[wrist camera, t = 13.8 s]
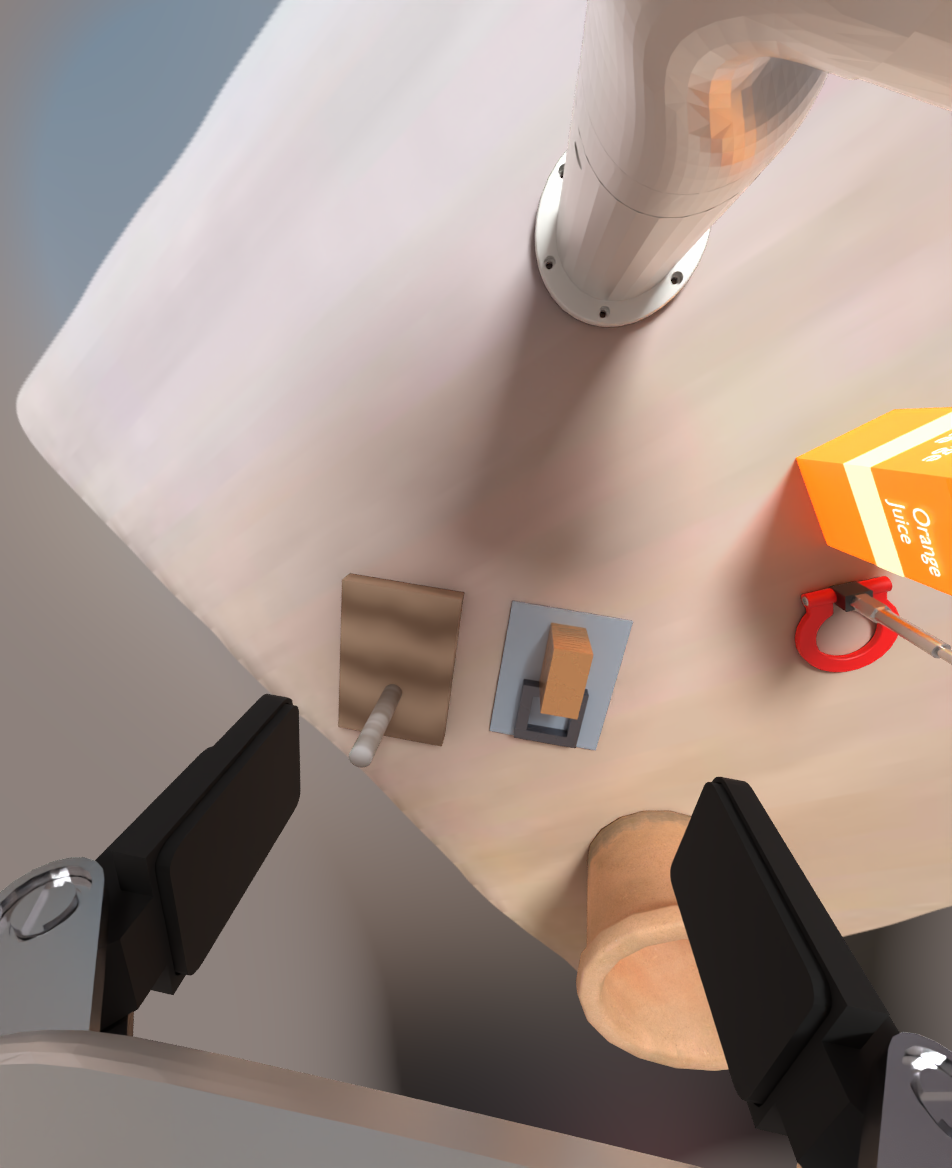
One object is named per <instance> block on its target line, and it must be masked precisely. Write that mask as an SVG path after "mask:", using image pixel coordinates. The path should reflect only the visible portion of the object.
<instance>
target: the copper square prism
mask: <svg viewBox="0 0 952 1168" xmlns="http://www.w3.org/2000/svg"><path fill="white" fill-rule="evenodd" d="M592 659H593V651H592V648H591V644H590V641H589V637H588V634H587V630H586V628H583V627H577V626H570V625H564V624H558V623H551V626H550V630H549V635H548V640H547V645H546V650H545V655H544V660H543V665H542V670H541V674H540V679H539V681H534V680H528V679H524V680H523V685H522V691H521V696H520V701H519V706H518V712H517V717H516V722H515V728H514V737H515V738H520V739H526V740H532V741H537V742H543V743H549V744H554V745H560V746H566V747H571V748H576V745H577V741H578V737H579V733H580V729H581V725H582V721H583V717H584V714H585V710H586V706H587V702H588V698H589V694H588V689H585V687H586V683H587V679H588V675H589V671H590V667H591V663H592ZM533 697H539V698H540V713H542V714H548V715H554V716H560V717H565V718H569V719H568V723H567V728H566V730H562V729H556V728H550V727H545V726H539V725H533V724H528V720H529V715H530V710H531V705H532V700H533Z"/></svg>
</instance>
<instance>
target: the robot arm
mask: <svg viewBox="0 0 952 1168" xmlns="http://www.w3.org/2000/svg"><path fill="white" fill-rule="evenodd" d="M829 73H831V74H834V75H837V76H839V77H842V78H845V79H848V80H856V79H860V80H863V81H866V82H869V83H872V84H875V85H877V86H880V87H883V88H886V89H889V90H892V91H895V92H897V93H900V94H903V95H906V96H909V97H912V98H915V99H917V100H920V101H923V102H926V103H929V104H932V105H935V106H937V107H940V108H943V109H946V110H949V111H952V0H587V7H586V15H585V24H584V32H583V40H582V47H581V54H580V61H579V68H578V75H577V82H576V89H575V96H574V103H573V110H572V117H571V124H570V131H569V138H568V145H567V150H566V151H565V153H564V154H563V155H562V156H561V157H560V159H559V160H558V162H557V163H556V165H555V167H554V169H553V170H552V172H551V174H550V175H549V177H548V179H547V182H546V185H545V187H544V190H543V192H542V195H541V198H540V202H539V206H538V211H537V215H536V224H535V252H536V258H537V264H538V268H539V271H540V274H541V277H542V279H543V282H544V284H545V286H546V288H547V290H548V291H549V293H550V295H551V296H552V298H553V299H554V300H555V301H556V302H557V303H558V305H559V306H560V307H561V308H562V309H563V310H564V311H566V312H567V313H569V314H570V315H571V316H573V317H574V318H576V319H578V320H580V321H583V322H585V323H587V324H591V325H596V326H601V327H616V326H623V325H627V324H631V323H635V322H637V321H639V320H642V319H644V318H646V317H648V316H650V315H652V314H653V313H655V312H656V311H657V310H659V309H660V308H662V307H663V306H665V305H666V304H667V303H668V302H669V301H670V300H671V299H672V298H674V297H675V296H676V295H677V293H678V292H679V291H680V290H681V289H682V288H683V287H684V286H685V284H686V283H687V282H688V280H689V279H690V277H691V275H692V274H693V272H694V271H695V269H696V268H697V266H698V264H699V262H700V260H701V257H702V255H703V253H704V250H705V248H706V245H707V242H708V238H709V234H710V230H711V227H712V225H713V224H714V223H715V222H716V221H717V220H718V219H719V218H720V217H721V216H722V215H723V214H724V213H725V211H726V210H727V209H728V208H729V207H730V206H731V205H732V204H733V203H734V202H735V201H736V200H737V199H738V198H739V196H740V195H741V194H742V193H743V192H744V191H745V190H746V189H747V188H748V187H749V186H750V185H751V184H752V182H753V181H754V180H755V179H756V178H757V177H758V176H759V174H760V173H761V172H762V171H763V170H764V169H765V168H766V167H767V166H768V165H769V163H770V162H771V161H772V160H773V159H774V158H775V157H776V156H777V155H778V154H779V152H780V151H781V150H782V149H783V148H784V146H785V145H786V144H787V143H788V141H789V140H790V139H791V137H792V136H793V135H794V133H795V132H796V131H797V129H798V128H799V126H800V125H801V123H802V122H803V120H804V119H805V117H806V116H807V114H808V112H809V111H810V109H811V107H812V105H813V104H814V102H815V100H816V98H817V96H818V94H819V93H820V91H821V89H822V87H823V85H824V83H825V81H826V79H827V76H828V74H829ZM562 174H563V179H562V178H561V177H560V176H561V175H562ZM548 263H551V264H552V265H553V267H552V268H551V269H547V268H546V265H547V264H548ZM672 278H675V279H676V284H675V285H674V284H672V282H671V279H672ZM602 311H603V312H605V314H606V316H605V317H604V318H601V317H600V312H602ZM299 797H300V752H299V710H298V707H297V706H294V705H293V703H292V700H291V699H290V698H287V697H281V696H276V695H270V694H265V695H263V696H262V697H261V698H260V699H259V700H258V701H257V702H256V703H255V704H254V705H253V706H252V707H251V708H250V709H249V710H248V711H247V712H246V713H245V714H244V715H243V716H242V717H241V718H240V719H239V720H238V721H237V722H236V723H235V724H234V725H233V726H232V727H231V728H230V729H229V730H228V731H227V732H226V734H225V735H224V736H223V737H222V738H221V739H220V740H219V741H218V742H217V743H216V744H215V745H214V746H212V747H209V748H207V749H206V750H205V751H203V752H202V753H201V754H200V755H199V756H198V757H197V758H196V759H195V760H194V761H193V762H192V763H191V764H190V765H189V766H188V767H187V768H186V769H185V770H184V771H183V772H182V773H181V774H180V775H179V776H178V777H177V778H176V779H175V780H174V781H173V782H172V783H171V784H170V785H169V786H168V787H167V788H166V789H165V790H164V791H163V792H162V793H161V794H160V795H159V796H158V797H157V798H156V799H155V800H154V801H153V802H152V804H150V805H149V806H148V807H147V809H146V810H145V811H144V812H143V813H142V814H141V815H140V816H139V817H138V818H137V819H136V820H135V821H134V822H133V823H132V824H131V825H130V826H129V827H128V828H127V829H126V830H125V831H124V832H123V833H122V834H121V835H120V836H119V837H118V838H117V839H116V840H115V841H114V842H113V843H112V844H111V845H110V846H109V847H108V848H107V849H106V850H105V851H104V852H103V853H102V854H101V855H100V856H99V857H98V858H97V859H96V860H95V861H94V860H91V859H88V858H85V857H75V858H66V859H62V860H57V861H53V862H50V863H48V864H45V865H43V866H41V867H38V868H36V869H34V870H32V871H30V872H28V873H27V874H25V875H23V876H22V877H20V878H18V879H17V880H15V881H13V882H12V883H11V884H10V885H9V886H7V887H6V888H5V889H4V890H2V891H1V892H0V1168H702V1167H698V1166H694V1165H690V1164H685V1163H681V1162H677V1161H673V1160H669V1159H665V1158H660V1157H656V1156H652V1155H648V1154H644V1153H640V1152H636V1151H632V1150H627V1149H624V1148H620V1147H615V1146H611V1145H607V1144H603V1143H599V1142H594V1141H590V1140H587V1139H582V1138H578V1137H573V1136H570V1135H566V1134H562V1133H557V1132H553V1131H549V1130H545V1129H541V1128H536V1127H532V1126H528V1125H524V1124H519V1123H515V1122H511V1121H507V1120H503V1119H498V1118H494V1117H489V1116H486V1115H481V1114H477V1113H473V1112H469V1111H464V1110H460V1109H456V1108H451V1107H447V1106H443V1105H438V1104H435V1103H430V1102H426V1101H422V1100H418V1099H413V1098H409V1097H405V1096H401V1095H396V1094H392V1093H388V1092H384V1091H379V1090H375V1089H371V1088H366V1087H362V1086H358V1085H353V1084H349V1083H345V1082H340V1081H335V1080H331V1079H327V1078H323V1077H318V1076H314V1075H310V1074H305V1073H301V1072H296V1071H292V1070H288V1069H283V1068H279V1067H275V1066H270V1065H266V1064H262V1063H257V1062H253V1061H248V1060H244V1059H240V1058H235V1057H231V1056H226V1055H222V1054H216V1053H211V1052H207V1051H202V1050H197V1049H192V1048H187V1047H182V1046H177V1045H173V1044H167V1043H163V1042H158V1041H153V1040H148V1039H143V1038H138V1037H133V1028H134V1027H133V1026H134V1011H135V1010H137V1009H138V1008H139V1007H140V1005H141V1004H142V1002H143V1001H144V999H145V998H146V996H147V995H148V993H149V992H150V990H154V991H158V992H162V993H167V994H171V995H174V993H175V991H176V990H177V988H178V987H179V985H180V983H181V982H182V980H183V979H184V977H185V975H193V974H194V973H195V972H196V970H198V969H199V967H200V966H201V964H202V963H203V961H204V959H205V958H206V956H207V954H208V953H209V951H210V949H211V948H212V946H213V944H214V943H215V941H216V939H217V938H218V936H219V934H220V933H221V931H222V929H223V928H224V926H225V925H226V923H227V921H228V920H229V918H230V916H231V914H232V913H233V911H234V910H235V908H236V906H237V905H238V903H239V901H240V900H241V898H242V896H243V894H244V893H245V891H246V890H247V888H248V886H249V885H250V883H251V881H252V880H253V878H254V876H255V875H256V873H257V871H258V870H259V868H260V867H261V865H262V863H263V862H264V860H265V858H266V857H267V855H268V853H269V852H270V850H271V848H272V847H273V845H274V843H275V842H276V840H277V838H278V836H279V835H280V833H281V832H282V830H283V828H284V827H285V825H286V823H287V822H288V820H289V818H290V817H291V815H292V813H293V812H294V810H295V808H296V806H297V804H298V801H299ZM670 878H671V884H672V887H673V891H674V894H675V897H676V900H677V904H678V907H679V910H680V913H681V917H682V920H683V923H684V926H685V929H686V933H687V936H688V939H689V942H690V946H691V949H692V952H693V955H694V959H695V962H696V965H697V968H698V972H699V975H700V978H701V981H702V984H703V988H704V991H705V994H706V997H707V1001H708V1004H709V1007H710V1010H711V1014H712V1017H713V1020H714V1023H715V1026H716V1030H717V1033H718V1036H719V1039H720V1043H721V1046H722V1049H723V1052H724V1056H725V1059H726V1062H727V1065H728V1069H729V1072H730V1075H731V1078H732V1081H733V1084H734V1087H735V1089H736V1091H737V1093H738V1095H739V1096H740V1098H741V1099H742V1100H745V1101H747V1103H748V1107H749V1110H750V1113H751V1116H752V1119H753V1122H754V1125H755V1128H756V1129H760V1130H765V1131H769V1132H774V1133H778V1134H782V1135H787V1136H788V1138H789V1141H790V1144H791V1146H792V1149H793V1152H794V1155H795V1157H796V1160H797V1162H798V1164H797V1168H952V1052H950V1051H949V1050H948V1049H946V1048H945V1047H943V1046H942V1045H940V1044H938V1043H937V1042H935V1041H933V1040H931V1039H928V1038H926V1037H923V1036H921V1035H919V1034H915V1033H905V1032H902V1033H899V1031H898V1030H897V1028H896V1026H895V1025H894V1023H893V1021H892V1020H891V1018H890V1017H889V1013H888V1011H887V1009H886V1008H885V1006H884V1004H883V1003H882V1001H881V1000H880V998H879V996H878V995H877V993H876V991H875V990H874V988H873V987H872V985H871V983H870V982H869V980H868V978H867V977H866V975H865V973H864V972H863V970H862V968H861V967H860V965H859V963H858V962H857V960H856V959H855V957H854V955H853V954H852V952H851V950H850V949H849V947H848V945H847V944H846V942H845V940H844V939H843V937H842V936H841V934H840V932H839V931H838V929H837V927H836V926H835V924H834V922H833V921H832V919H831V918H830V916H829V914H828V913H827V911H826V909H825V908H824V906H823V904H822V903H821V901H820V899H819V898H818V896H817V895H816V893H815V891H814V890H813V888H812V886H811V885H810V883H809V881H808V880H807V878H806V876H805V875H804V873H803V872H802V870H801V868H800V867H799V865H798V863H797V862H796V860H795V858H794V857H793V855H792V854H791V852H790V850H789V849H788V847H787V845H786V844H785V842H784V840H783V839H782V837H781V835H780V834H779V832H778V831H777V829H776V827H775V826H774V824H773V822H772V821H771V819H770V817H769V816H768V814H767V813H766V811H765V809H764V808H763V806H762V804H761V803H760V801H759V799H758V798H757V796H756V794H755V793H754V791H753V790H752V788H751V787H750V785H749V784H748V783H746V782H745V781H740V780H734V779H729V778H723V777H716V778H715V779H714V780H713V781H712V782H707V783H706V784H705V785H704V787H703V790H702V792H701V795H700V797H699V799H698V802H697V804H696V807H695V809H694V811H693V814H692V816H691V819H690V821H689V823H688V826H687V828H686V831H685V833H684V835H683V838H682V840H681V843H680V845H679V847H678V850H677V852H676V855H675V857H674V859H673V862H672V864H671V869H670Z"/></svg>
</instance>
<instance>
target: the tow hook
mask: <svg viewBox="0 0 952 1168" xmlns="http://www.w3.org/2000/svg"><path fill="white" fill-rule="evenodd" d="M891 589H892V583H891V581H890V579H889V578H888V577H886V576H882V577H877V578H873V579H868V580H864V581H859V582H849V583H845V584H840V585H836V586H831V587H829V588H828V589H823V590H819V591H814V592H810V593H805V594H802V595H801V601H802V603H803V605H804V607H806V614H805V615H804V616H803V617H802V619H801V621H800V623H799V624H798V626H797V629H796V634H795V643H796V648H797V650H798V652H799V654H800V655H801V656H802V657H803V658H804V659H805V660H806V661H807V662H808V663H809V664H810V665H812V666H814V667H816V668H818V669H820V670H824V671H829V672H847V671H851V670H856V669H859V668H862V667H864V666H866V665H869V664H871V663H872V662H874V661H876V660H877V659H879V658H880V657H882V656H883V655H884V654H885V653H886V652H887V651H888V650H889V649H890V648H891V646H892V645H893V643H894V642H895V640H896V638H897V636H898V635H900V636H901V637H903V638H904V639H906V640H907V641H909V642H911V643H912V644H914V645H915V646H917V647H918V648H920V649H922V650H923V651H925V652H926V653H928V654H930V655H931V656H933V657H934V658H942V659H943V660H945V661H947V662H948V663H950V664H951V665H952V650H951V647H950V645H948V644H946V643H945V642H943V641H941V640H940V639H938V638H936V637H934V636H933V635H931V634H929V633H928V632H926V631H924V630H922V629H921V628H919V627H917V626H916V625H914V624H912V623H910V622H909V621H907V620H905V619H903V618H902V617H900V616H899V614H898V612H897V609H896V607H895V606H894V605H893V604H892V603H891V602H889V601H888V600H887V591H891ZM833 603H834V604H836V605H837V606H839V607H840V608H842V609H843V610H845V611H846V612H848V611H853V610H855V611H857V612H859V613H860V614H862V615H863V616H865V617H866V618H868V619H869V620H871V621H872V622H874V623H877V628H876V631H875V634H874V636H873V637H872V639H871V640H870V641H869V642H868V643H867V644H866V645H865V646H864V647H862V648H861V649H859V650H857V651H855V652H853V653H850V654H846V655H839V656H833V655H828V654H825V653H823V652H821V651H820V650H819V649H818V647H817V644H816V636H817V632H818V630H819V628H820V626H821V625H822V624H823V623H824V621H825V620H826V619H828V618H829V617H830V616H832V614H833Z"/></svg>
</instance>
